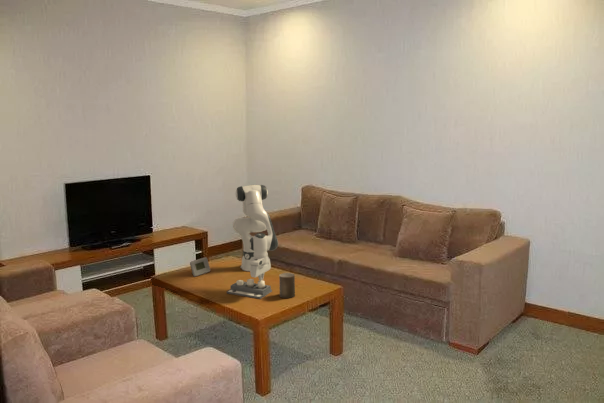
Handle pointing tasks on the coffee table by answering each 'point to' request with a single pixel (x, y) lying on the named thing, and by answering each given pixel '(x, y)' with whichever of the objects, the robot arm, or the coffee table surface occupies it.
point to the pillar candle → (287, 285)
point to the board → (249, 290)
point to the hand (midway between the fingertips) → (261, 280)
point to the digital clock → (200, 266)
